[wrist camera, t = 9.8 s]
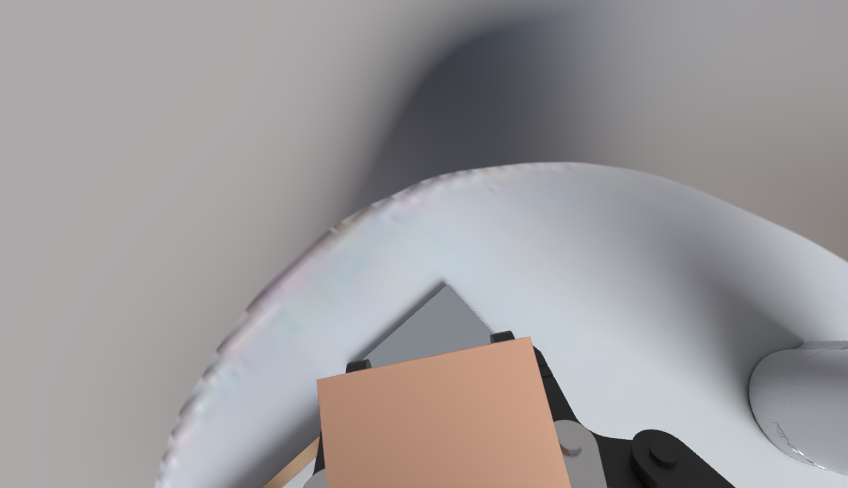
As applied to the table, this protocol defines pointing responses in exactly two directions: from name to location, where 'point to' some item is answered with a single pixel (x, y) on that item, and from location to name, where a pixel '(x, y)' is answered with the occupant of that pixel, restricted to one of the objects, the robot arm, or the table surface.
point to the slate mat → (432, 331)
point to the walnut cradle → (294, 466)
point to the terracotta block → (443, 423)
